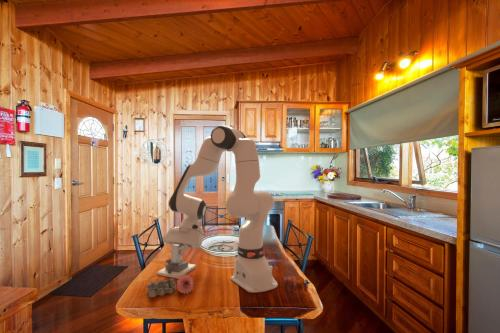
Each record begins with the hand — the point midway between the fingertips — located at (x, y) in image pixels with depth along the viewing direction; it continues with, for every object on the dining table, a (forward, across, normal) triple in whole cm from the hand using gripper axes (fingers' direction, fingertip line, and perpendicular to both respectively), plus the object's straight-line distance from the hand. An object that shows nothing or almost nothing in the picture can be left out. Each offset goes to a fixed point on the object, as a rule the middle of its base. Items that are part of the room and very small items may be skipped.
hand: (176, 253), depth 126 cm
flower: (+17, +16, -4) cm, 23 cm away
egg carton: (+20, +6, -7) cm, 22 cm away
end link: (+4, 0, +5) cm, 6 cm away
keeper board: (+6, 0, +6) cm, 9 cm away
